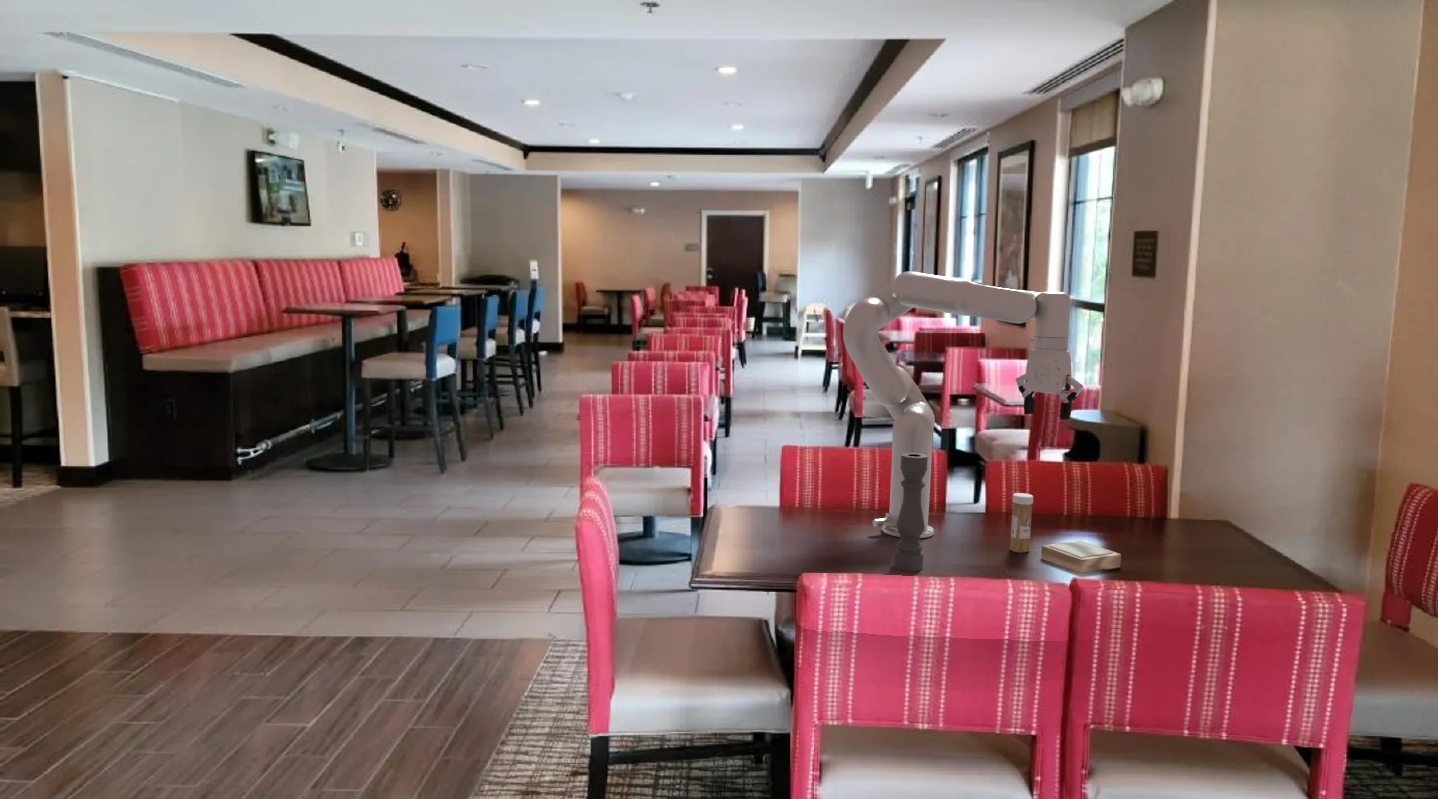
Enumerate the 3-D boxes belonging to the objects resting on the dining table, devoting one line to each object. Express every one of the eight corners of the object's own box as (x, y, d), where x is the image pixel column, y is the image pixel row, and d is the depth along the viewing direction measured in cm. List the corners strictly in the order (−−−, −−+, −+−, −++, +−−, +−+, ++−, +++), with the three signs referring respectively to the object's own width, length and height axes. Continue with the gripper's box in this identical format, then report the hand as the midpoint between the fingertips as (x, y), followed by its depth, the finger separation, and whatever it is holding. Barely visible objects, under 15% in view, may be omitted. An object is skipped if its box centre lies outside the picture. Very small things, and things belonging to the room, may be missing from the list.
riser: (1080, 573, 227) (1081, 559, 226) (1040, 558, 237) (1041, 544, 237) (1120, 567, 232) (1121, 553, 232) (1079, 553, 243) (1080, 539, 242)
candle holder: (891, 563, 231) (896, 452, 227) (918, 563, 231) (924, 452, 228) (898, 571, 225) (904, 458, 221) (926, 571, 225) (932, 458, 222)
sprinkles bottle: (1028, 554, 241) (1032, 497, 239) (1008, 551, 242) (1012, 495, 240) (1030, 549, 245) (1034, 493, 243) (1010, 546, 247) (1014, 491, 245)
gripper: (1010, 342, 247) (1006, 413, 250) (1075, 347, 234) (1070, 422, 236) (1028, 341, 252) (1024, 410, 254) (1093, 346, 239) (1088, 420, 241)
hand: (1046, 416), depth 245 cm, fingers open, 9 cm apart
